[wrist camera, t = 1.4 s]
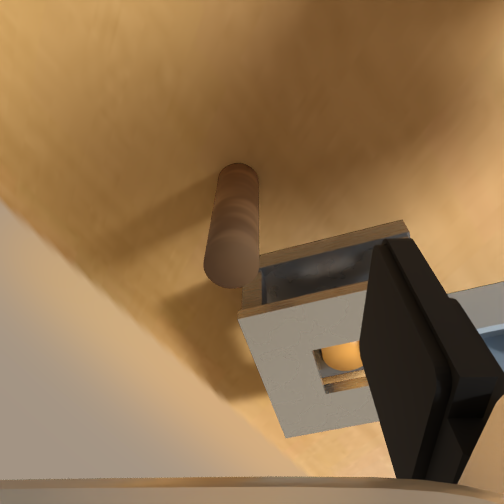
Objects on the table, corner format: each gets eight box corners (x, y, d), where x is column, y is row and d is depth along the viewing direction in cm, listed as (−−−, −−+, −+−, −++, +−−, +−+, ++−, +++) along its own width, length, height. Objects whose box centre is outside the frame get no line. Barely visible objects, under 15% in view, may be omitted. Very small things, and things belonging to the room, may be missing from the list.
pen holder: (519, 278, 42) (549, 313, 38) (519, 330, 45) (547, 369, 41) (445, 294, 43) (466, 331, 39) (451, 344, 46) (470, 383, 42)
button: (362, 313, 38) (367, 329, 37) (370, 348, 40) (375, 365, 39) (314, 323, 39) (317, 340, 37) (324, 357, 41) (327, 374, 39)
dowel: (252, 158, 36) (250, 235, 26) (263, 194, 38) (265, 281, 28) (212, 169, 37) (195, 249, 27) (225, 205, 38) (214, 293, 28)
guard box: (402, 219, 39) (433, 274, 32) (420, 342, 46) (449, 408, 39) (240, 260, 41) (237, 319, 34) (281, 370, 48) (285, 438, 41)
